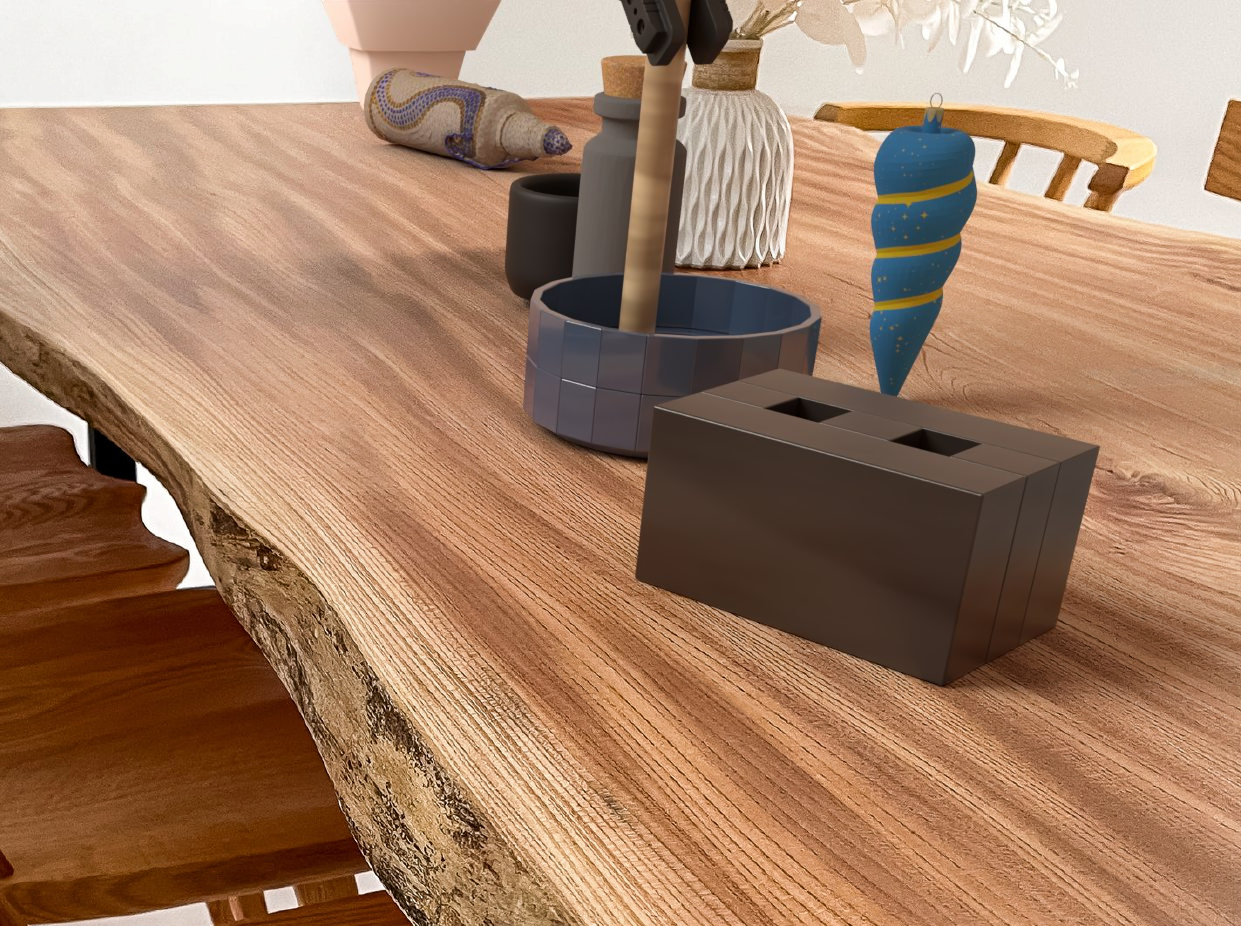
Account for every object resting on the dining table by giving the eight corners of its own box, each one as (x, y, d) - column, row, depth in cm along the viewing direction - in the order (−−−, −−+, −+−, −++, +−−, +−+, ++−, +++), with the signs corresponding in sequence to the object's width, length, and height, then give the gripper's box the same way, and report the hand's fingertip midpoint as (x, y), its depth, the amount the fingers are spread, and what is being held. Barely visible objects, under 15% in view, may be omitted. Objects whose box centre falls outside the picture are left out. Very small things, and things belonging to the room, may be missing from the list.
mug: (492, 287, 114) (500, 171, 111) (628, 287, 115) (640, 172, 111) (521, 334, 104) (530, 208, 100) (669, 334, 105) (684, 209, 101)
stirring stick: (629, 364, 90) (673, -55, 80) (657, 371, 89) (705, -53, 79) (607, 370, 89) (648, -54, 79) (635, 377, 88) (680, -52, 78)
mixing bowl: (638, 372, 97) (649, 260, 94) (856, 429, 89) (877, 307, 85) (466, 419, 89) (473, 297, 86) (689, 486, 80) (705, 354, 77)
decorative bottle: (356, 145, 165) (359, 67, 162) (422, 140, 169) (425, 64, 165) (525, 187, 147) (532, 101, 143) (594, 181, 150) (602, 97, 147)
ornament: (889, 418, 90) (946, 102, 83) (815, 394, 94) (863, 90, 86) (956, 404, 93) (1017, 96, 85) (881, 381, 96) (934, 84, 89)
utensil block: (755, 532, 75) (779, 368, 71) (1056, 626, 67) (1101, 445, 63) (633, 579, 70) (652, 405, 66) (942, 687, 62) (983, 494, 58)
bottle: (685, 338, 104) (719, 61, 96) (627, 356, 100) (657, 69, 92) (606, 320, 107) (631, 50, 99) (547, 336, 103) (569, 58, 96)
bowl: (297, 107, 187) (297, -40, 180) (473, 106, 190) (480, -39, 183) (327, 133, 171) (328, -27, 164) (517, 132, 175) (528, -25, 167)
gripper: (480, -343, 77) (596, -6, 73) (742, -326, 81) (862, -9, 78) (423, -200, 83) (526, 114, 80) (668, -193, 88) (774, 104, 85)
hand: (691, 51), depth 79 cm, fingers closed on stirring stick, 2 cm apart
